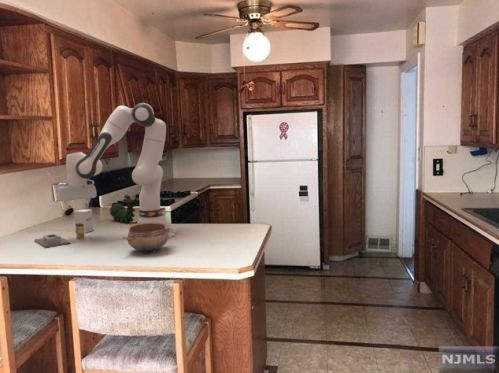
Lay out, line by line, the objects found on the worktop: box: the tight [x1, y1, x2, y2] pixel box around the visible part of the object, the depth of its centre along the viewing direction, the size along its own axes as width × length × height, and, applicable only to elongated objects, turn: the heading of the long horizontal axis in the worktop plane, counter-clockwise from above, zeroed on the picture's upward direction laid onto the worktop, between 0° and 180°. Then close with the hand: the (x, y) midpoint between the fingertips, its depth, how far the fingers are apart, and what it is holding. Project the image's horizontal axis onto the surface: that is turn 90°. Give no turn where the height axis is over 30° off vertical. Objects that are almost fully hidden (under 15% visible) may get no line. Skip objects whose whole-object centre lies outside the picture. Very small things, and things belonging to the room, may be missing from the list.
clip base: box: [34, 233, 71, 249], centre depth 225 cm, size 20×12×4 cm, turn 41°
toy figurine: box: [109, 194, 136, 224], centre depth 276 cm, size 10×19×26 cm
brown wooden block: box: [75, 223, 85, 241], centre depth 232 cm, size 5×2×8 cm, turn 41°
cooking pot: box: [122, 222, 172, 254], centre depth 202 cm, size 25×19×12 cm
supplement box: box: [73, 208, 94, 234], centre depth 249 cm, size 7×7×13 cm
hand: (77, 207), depth 230 cm, fingers open, 8 cm apart
